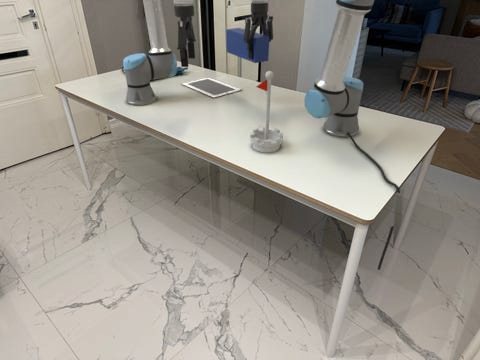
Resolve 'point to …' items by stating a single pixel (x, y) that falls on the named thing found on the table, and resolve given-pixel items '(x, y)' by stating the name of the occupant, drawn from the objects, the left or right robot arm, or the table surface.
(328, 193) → the table surface
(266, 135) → the flag stand
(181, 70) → the submachine gun
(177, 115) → the table surface
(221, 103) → the table surface
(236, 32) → the box
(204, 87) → the tablet
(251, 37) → the right robot arm
